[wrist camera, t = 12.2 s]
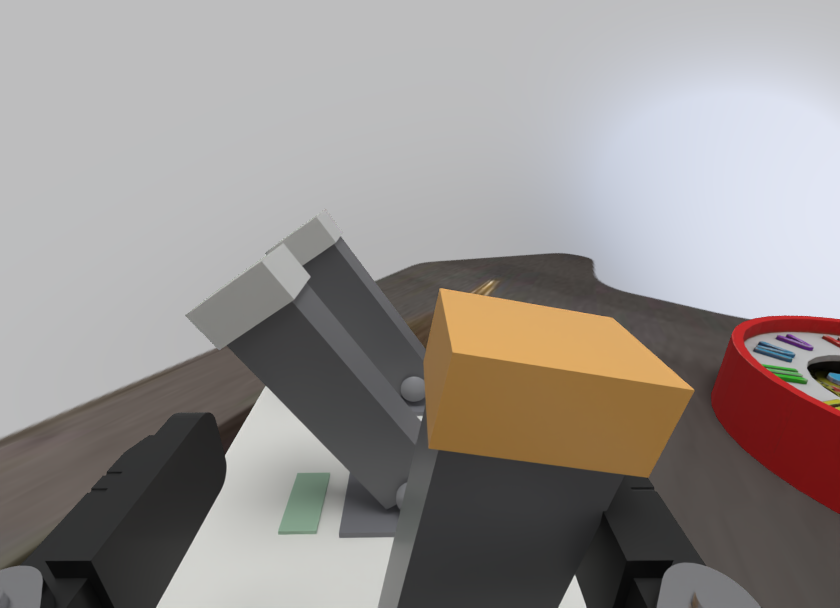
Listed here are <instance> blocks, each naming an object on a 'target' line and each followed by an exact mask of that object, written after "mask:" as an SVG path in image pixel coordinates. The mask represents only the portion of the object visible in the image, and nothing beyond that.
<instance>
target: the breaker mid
mask: <svg viewBox="0 0 840 608" xmlns="http://www.w3.org/2000/svg"><path fill="white" fill-rule="evenodd" d="M310 277H311V276H310V275H309V274H308V273H307V272H306V270H305V269H304V268H303V267H302V265H301V264H300V263H299V262H298V261H297V259H296V258H295V257H294V256H293V254H292V253H291V252H290V251H289V249H288V248H287V247H286V246H285V245H284V243H283V244H282V245H280V246H279V247H277V248H276V249H275V250H273V251H272V252H270V253H269V254H268V255H266V256H265V257H263V258H262V259H261V260H259V261H258V262H256V263H255V264H254V265H252V266H251V267H249V268H248V269H246V270H245V271H244V272H242V273H241V274H239V275H238V276H237V277H235V278H234V279H232V280H231V281H230V282H228V283H227V284H225V285H224V286H223V287H221V288H220V289H218V290H217V291H216V292H214V293H213V294H212V295H211V296H209V297H208V298H207V299H206V300H204V301H203V302H202V303H200V304H199V305H198V306H197V307H195V308H194V309H193V310H192V311H190V312H189V313H188V314H187V315H186V317H187V318H188V319H189V320H190V321H191V322H192V323H193V324H194V325H195V326H196V327H197V328H198V329H199V330H200V331H201V332H202V333H203V334H204V335H205V336H206V337H207V338H208V339H209V340H210V341H211V342H212V343H213V344H214V345H215V346H216V347H217V348H218V349H219V350H220V349H222V348H223V347H225V346H226V345H227V346H228V347H229V348H230V349H231V350H232V351H233V352H234V353H235V354H236V356H237V357H238V358H239V359H240V360H241V361H242V362H243V363H244V364H245V365H246V366H247V367H248V368H249V369H250V370H251V371H252V372H253V373H254V374H255V375H256V376H257V377H258V378H259V379H260V380H261V381H262V382H263V383H264V384H265V385H266V386H267V387H268V388H269V389H270V390H271V391H272V393H273V394H274V395H275V396H276V397H277V398H278V399H279V400H280V401H281V402H282V403H283V404H284V405H285V406H286V407H287V408H288V409H289V410H290V411H291V412H292V413H293V414H294V415H295V416H296V417H297V418H298V419H299V420H300V421H301V422H302V423H303V424H304V425H305V426H306V427H307V428H308V430H309V431H310V432H311V433H312V434H313V435H314V436H315V437H316V438H317V439H318V440H319V441H320V442H321V443H322V444H323V445H324V446H325V447H326V448H327V449H328V450H329V451H330V452H331V453H332V454H333V455H334V456H335V457H336V458H337V459H338V460H339V461H340V462H341V463H342V464H343V465H344V467H345V468H346V469H347V470H348V471H349V472H350V473H351V474H352V475H353V476H354V477H355V478H356V479H357V480H358V481H359V482H360V483H361V484H362V485H363V486H364V487H365V488H366V489H367V490H368V491H369V492H370V493H371V494H372V495H373V496H374V497H375V498H376V499H377V500H378V501H379V503H380V504H381V505H382V506H383V507H384V508H385V509H386V510H387V509H389V508H391V507H393V506H395V505H397V506H398V508H399V509H400V510H401V506H402V502H403V498H404V493H405V489H406V485H407V481H408V476H409V472H410V468H411V464H412V459H413V455H414V451H415V447H416V442H417V438H418V434H419V430H420V425H421V421H420V419H419V418H418V417H417V416H416V415H415V413H414V412H413V411H412V410H411V409H410V407H409V406H408V405H407V404H406V402H405V401H404V400H403V399H402V398H401V396H400V395H399V394H398V393H397V392H396V390H395V389H394V388H393V387H392V386H391V384H390V383H389V382H388V381H387V379H386V378H385V377H384V376H383V375H382V373H381V372H380V371H379V370H378V369H377V367H376V366H375V365H374V364H373V362H372V361H371V360H370V359H369V358H368V356H367V355H366V354H365V353H364V352H363V350H362V349H361V348H360V347H359V345H358V344H357V343H356V342H355V341H354V339H353V338H352V337H351V336H350V335H349V333H348V332H347V331H346V330H345V328H344V327H343V326H342V325H341V324H340V322H339V321H338V320H337V319H336V318H335V316H334V315H333V314H332V313H331V311H330V310H329V309H328V308H327V307H326V305H325V304H324V303H323V302H322V301H321V299H320V298H319V297H318V296H317V295H316V293H315V292H314V291H313V290H312V288H311V287H310V286H309V285H308V284H307V281H308V280H309V278H310Z"/></svg>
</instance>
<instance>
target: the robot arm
mask: <svg viewBox="0 0 840 608" xmlns="http://www.w3.org/2000/svg"><path fill="white" fill-rule="evenodd" d="M226 471H227V464H226V458H225V454H224V451H223V447H222V443H221V439H220V435H219V431H218V427H217V423H216V420H215V417H214V416H213V414H211V413H176V414H174V415H172V416H171V417H170V418H169V419H168V420H167V422H166V423H165V424H164V425H163V426H162V427H161V428H160V430H159V431H158V432H157V433H156V434H155V435H149V436H148V437H146V438H145V439H143V440H142V441H140V442H139V443H137V444H136V445H134V446H133V447H132V448H130V449H129V450H127V451H126V452H125V453H124V454H123V455H122V456H121V457H120V458H119V459H118V460H117V461H116V462H115V463H114V464H113V466H112V467H111V468H110V469H109V470H108V471H107V475H106V476H102V478H101V479H100V480H99V481H98V482H97V483H96V484H95V485H94V486H93V487H92V488H91V489H92V490H91V492H90V493H87V494H86V495H85V496H84V497H83V498H82V499H81V500H80V501H79V503H78V504H77V505H76V506H75V507H74V508H73V509H72V510H71V511H70V512H69V513H68V514H67V516H66V517H65V518H64V519H63V520H62V521H61V522H60V523H59V524H58V525H57V526H56V527H55V529H54V530H53V531H52V532H51V533H50V534H49V535H48V536H47V537H46V538H45V539H44V541H43V542H42V543H41V544H40V545H39V546H38V547H37V548H36V549H35V550H34V551H33V552H32V554H31V555H30V556H29V557H28V558H27V559H26V560H25V561H24V562H23V563H22V564H21V565H20V566H15V567H10V568H6V569H3V570H0V608H156V607H157V605H158V603H159V601H160V600H161V598H162V596H163V594H164V592H165V591H166V589H167V587H168V585H169V583H170V582H171V580H172V578H173V576H174V574H175V573H176V571H177V569H178V567H179V565H180V564H181V562H182V560H183V558H184V556H185V555H186V553H187V551H188V549H189V547H190V545H191V544H192V542H193V540H194V538H195V536H196V535H197V533H198V531H199V529H200V527H201V526H202V524H203V522H204V520H205V518H206V517H207V515H208V513H209V511H210V509H211V508H212V506H213V504H214V502H215V500H216V499H217V497H218V495H219V493H220V491H221V489H222V487H223V485H224V482H225V478H226ZM575 576H576V579H577V581H578V584H579V587H580V590H581V593H582V596H583V598H584V601H585V604H586V607H587V608H762V607H760V606H759V604H758V603H757V602H756V601H755V600H754V599H753V597H752V596H751V595H750V594H749V593H748V592H747V591H746V590H745V589H743V588H742V587H741V586H740V585H738V584H737V583H736V582H735V581H733V580H732V579H730V578H729V577H727V576H726V575H724V574H722V573H720V572H719V571H716V570H714V569H712V568H710V567H707V566H706V565H705V563H704V562H703V561H702V559H701V558H700V556H699V555H698V553H697V552H696V550H695V549H694V547H693V546H692V544H691V543H690V541H689V540H688V538H687V536H686V535H685V533H684V532H683V530H682V529H681V527H680V526H679V524H678V523H677V521H676V520H675V518H674V517H673V515H672V514H671V512H670V511H669V509H668V508H667V506H666V505H665V503H664V502H663V500H662V499H661V497H660V496H659V494H658V493H657V492H655V491H654V486H653V485H652V483H651V482H650V480H649V479H648V478H646V477H638V476H631V475H624V477H623V479H622V481H621V483H620V485H619V487H618V489H617V491H616V493H615V495H614V497H613V499H612V501H611V503H610V505H609V507H608V509H607V511H603V514H602V518H601V522H600V525H599V527H598V529H597V531H596V533H595V535H594V537H593V539H592V541H591V543H590V545H589V547H588V549H587V551H586V553H585V555H584V557H583V559H582V561H581V563H580V565H579V567H578V569H577V571H576V573H575Z"/></svg>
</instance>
